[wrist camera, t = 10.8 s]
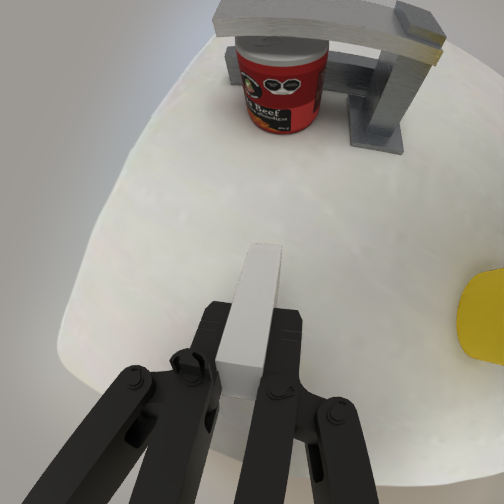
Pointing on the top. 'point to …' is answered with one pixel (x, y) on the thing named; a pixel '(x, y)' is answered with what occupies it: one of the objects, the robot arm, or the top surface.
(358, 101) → the bracket
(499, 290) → the yellow toilet paper roll
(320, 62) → the canned food
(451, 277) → the top surface
